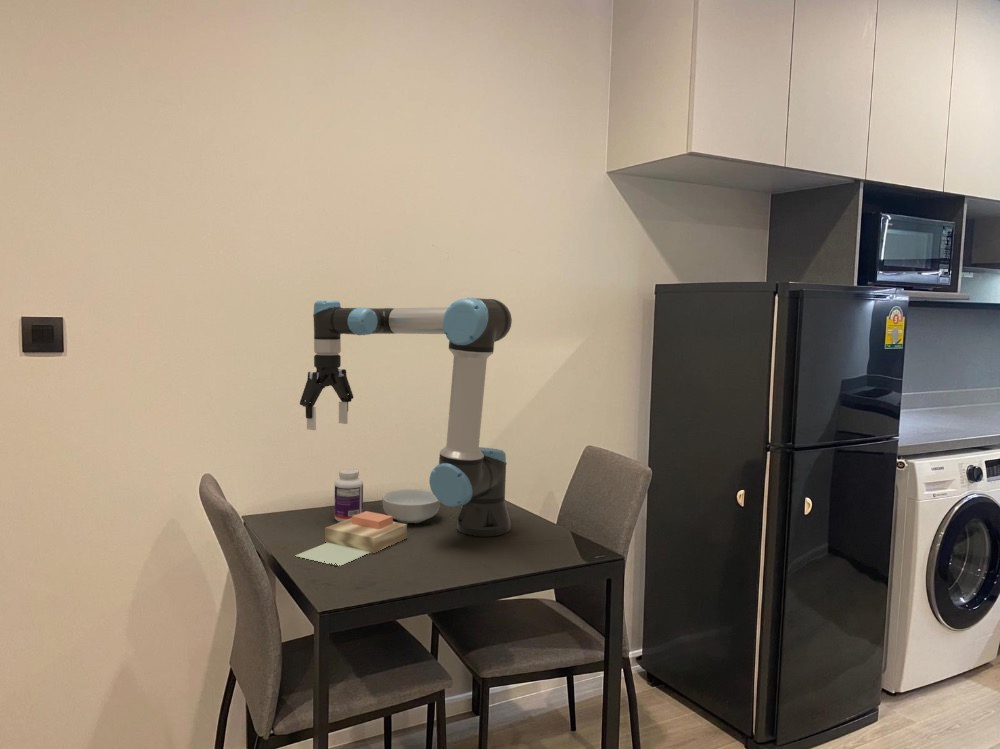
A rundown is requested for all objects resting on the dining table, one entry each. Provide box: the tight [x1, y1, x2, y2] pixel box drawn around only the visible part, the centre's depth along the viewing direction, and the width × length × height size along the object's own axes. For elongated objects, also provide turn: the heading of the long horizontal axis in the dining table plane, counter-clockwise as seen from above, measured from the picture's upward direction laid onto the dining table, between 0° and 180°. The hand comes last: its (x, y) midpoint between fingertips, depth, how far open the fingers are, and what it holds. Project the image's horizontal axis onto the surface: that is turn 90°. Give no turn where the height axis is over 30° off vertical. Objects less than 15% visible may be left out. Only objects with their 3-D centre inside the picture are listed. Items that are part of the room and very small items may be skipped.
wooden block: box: [324, 518, 408, 554], centre depth 191 cm, size 16×14×4 cm
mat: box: [294, 542, 372, 566], centre depth 180 cm, size 14×12×1 cm
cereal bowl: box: [381, 488, 442, 524], centre depth 211 cm, size 17×17×7 cm
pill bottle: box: [334, 468, 364, 523], centre depth 209 cm, size 8×8×14 cm
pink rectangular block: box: [352, 510, 394, 529], centre depth 193 cm, size 9×6×2 cm, turn 62°
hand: (327, 426), depth 212 cm, fingers open, 13 cm apart
